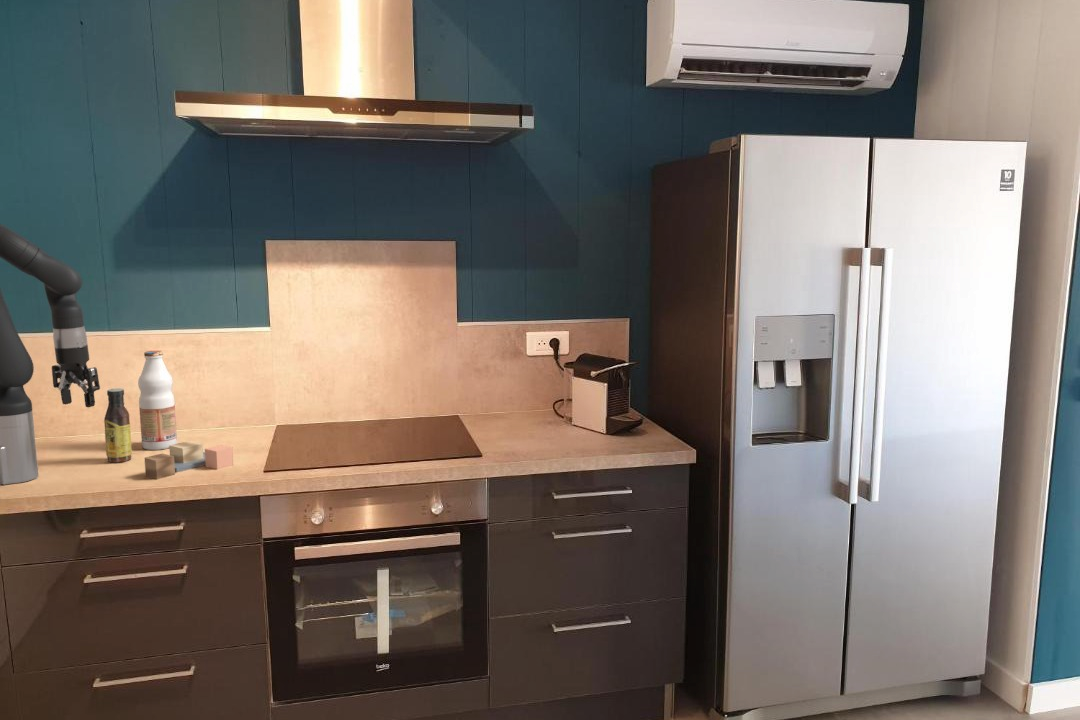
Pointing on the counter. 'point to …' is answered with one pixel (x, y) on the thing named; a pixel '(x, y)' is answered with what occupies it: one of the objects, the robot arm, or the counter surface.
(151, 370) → the fruit juice
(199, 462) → the board
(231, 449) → the terracotta block
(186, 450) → the oak plinth
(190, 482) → the counter surface
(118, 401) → the sauce bottle
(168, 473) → the walnut block
